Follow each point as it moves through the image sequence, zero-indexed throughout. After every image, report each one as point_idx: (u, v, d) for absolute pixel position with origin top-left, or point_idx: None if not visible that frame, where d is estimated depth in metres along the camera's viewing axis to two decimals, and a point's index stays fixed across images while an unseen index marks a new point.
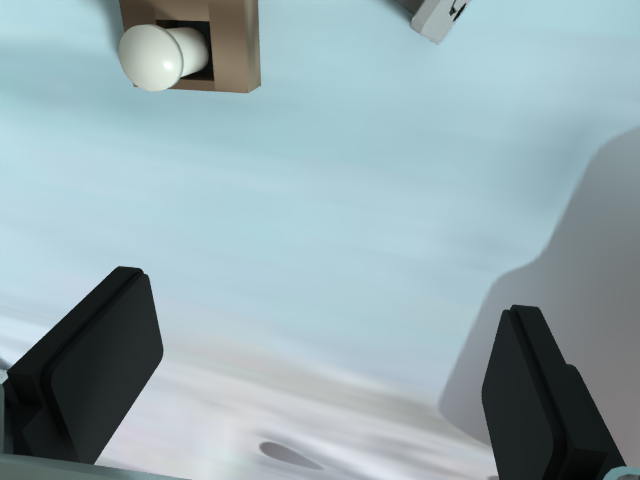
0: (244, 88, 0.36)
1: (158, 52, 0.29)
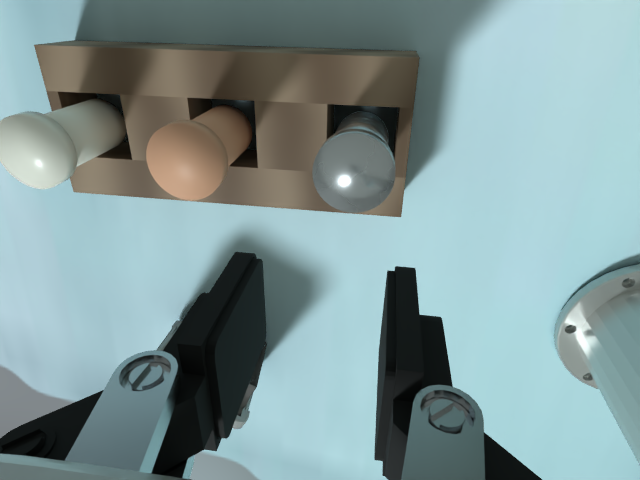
0: (77, 188, 0.32)
1: (41, 168, 0.25)
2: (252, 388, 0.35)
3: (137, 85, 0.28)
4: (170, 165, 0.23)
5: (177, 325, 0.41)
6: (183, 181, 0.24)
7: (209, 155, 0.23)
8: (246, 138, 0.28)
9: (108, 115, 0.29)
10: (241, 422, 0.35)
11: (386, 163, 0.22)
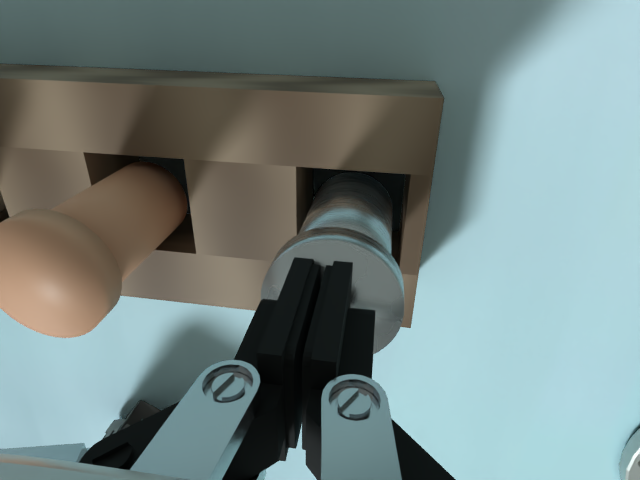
0: None
1: None
2: None
3: (7, 133, 0.18)
4: (17, 285, 0.14)
5: (114, 428, 0.31)
6: (43, 309, 0.14)
7: (78, 273, 0.13)
8: (173, 215, 0.18)
9: None
10: None
11: (388, 292, 0.12)
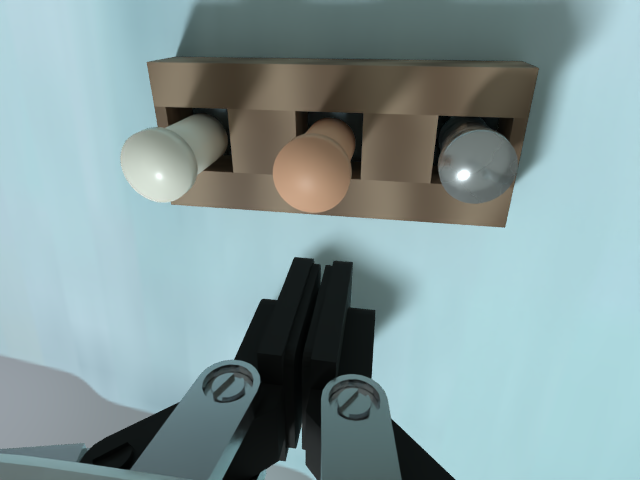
0: (175, 201, 0.33)
1: (165, 182, 0.25)
2: None
3: (245, 99, 0.28)
4: (296, 178, 0.24)
5: None
6: (307, 194, 0.24)
7: (338, 168, 0.23)
8: (353, 150, 0.28)
9: (215, 129, 0.29)
10: None
11: (510, 157, 0.24)
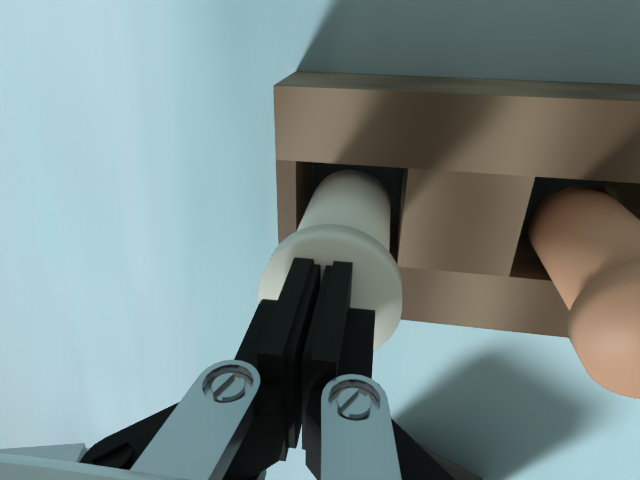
0: None
1: None
2: None
3: (447, 155, 0.16)
4: (634, 342, 0.12)
5: None
6: None
7: None
8: None
9: (384, 201, 0.17)
10: None
11: None
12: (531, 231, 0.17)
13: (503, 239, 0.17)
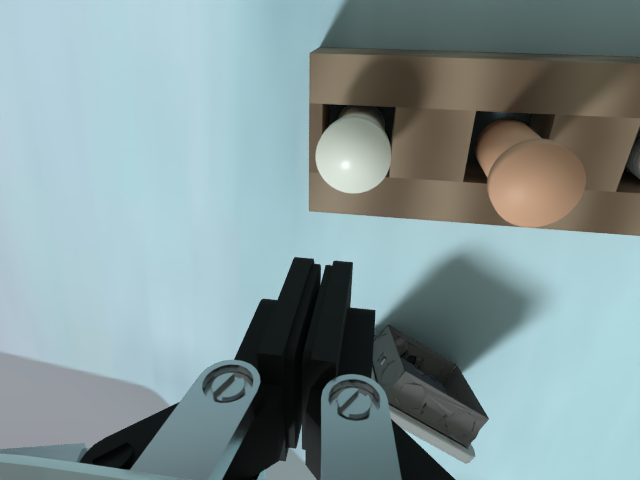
0: (314, 207, 0.30)
1: (360, 173, 0.25)
2: (485, 420, 0.32)
3: (420, 97, 0.25)
4: (519, 189, 0.21)
5: None
6: (528, 207, 0.21)
7: (573, 179, 0.20)
8: None
9: (381, 119, 0.29)
10: (473, 456, 0.32)
11: None
12: (476, 149, 0.27)
13: (458, 155, 0.27)
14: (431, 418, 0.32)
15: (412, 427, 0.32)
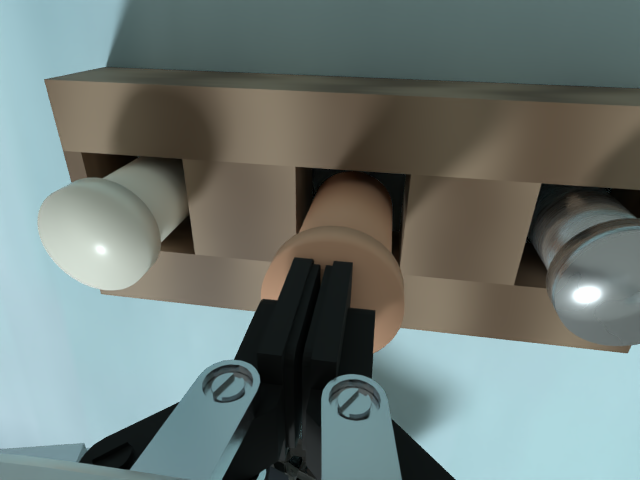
0: (106, 290, 0.21)
1: (109, 263, 0.16)
2: None
3: (212, 146, 0.17)
4: None
5: None
6: None
7: (383, 295, 0.12)
8: None
9: None
10: None
11: None
12: None
13: (282, 227, 0.18)
14: None
15: None
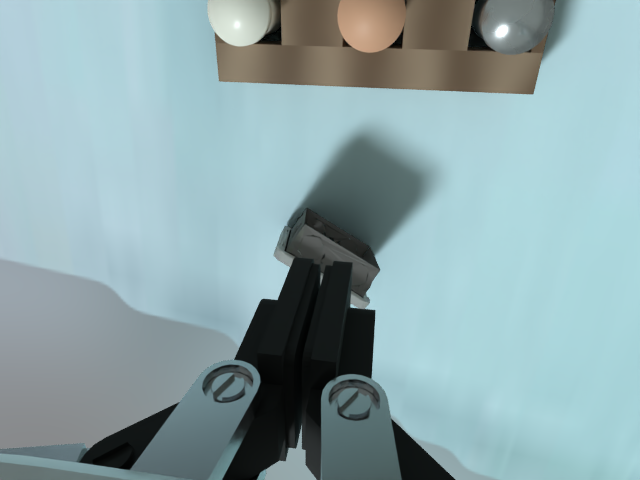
0: (222, 77, 0.35)
1: (245, 26, 0.30)
2: (376, 270, 0.37)
3: None
4: (358, 18, 0.27)
5: (287, 229, 0.44)
6: (367, 33, 0.27)
7: (396, 6, 0.27)
8: None
9: None
10: (366, 302, 0.37)
11: (547, 5, 0.27)
12: None
13: (335, 21, 0.32)
14: None
15: None
